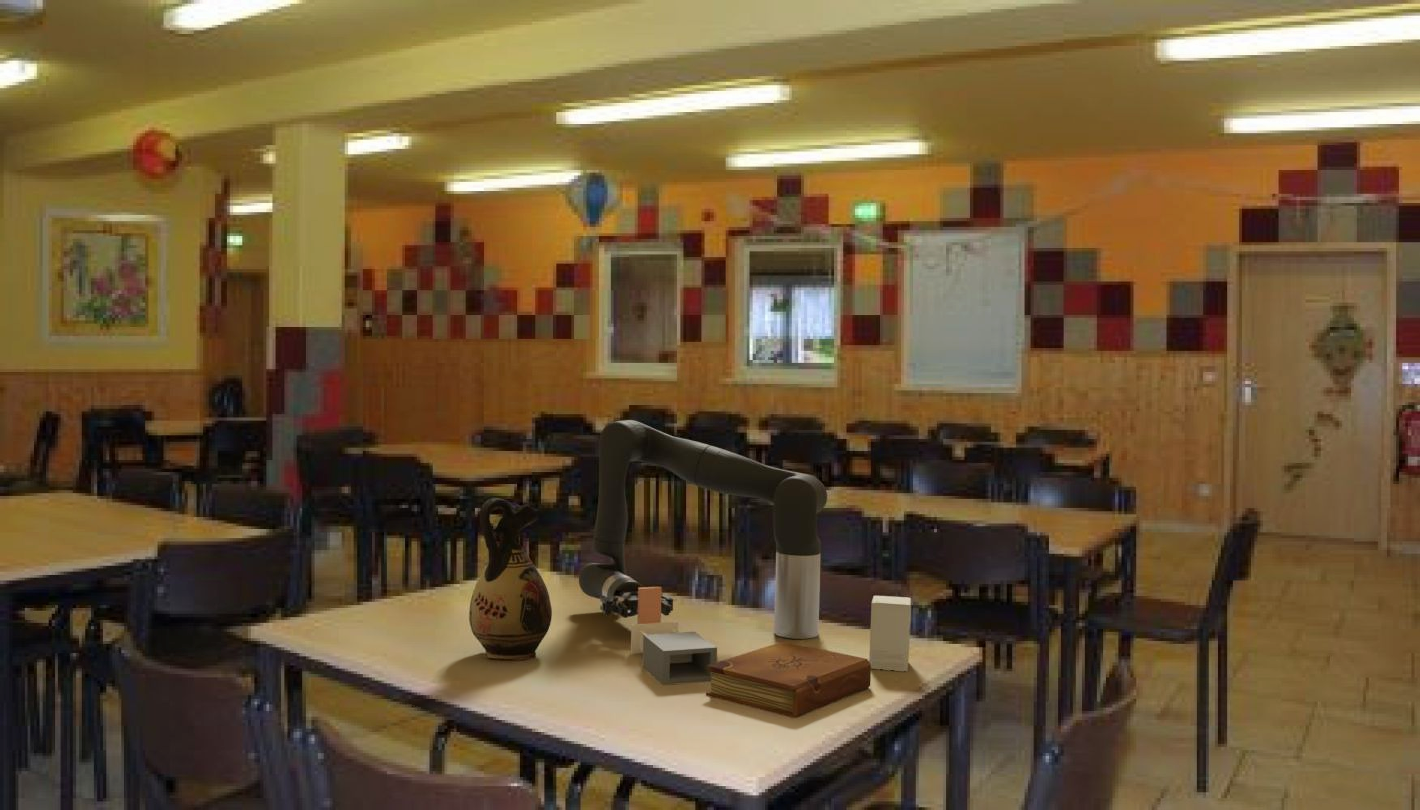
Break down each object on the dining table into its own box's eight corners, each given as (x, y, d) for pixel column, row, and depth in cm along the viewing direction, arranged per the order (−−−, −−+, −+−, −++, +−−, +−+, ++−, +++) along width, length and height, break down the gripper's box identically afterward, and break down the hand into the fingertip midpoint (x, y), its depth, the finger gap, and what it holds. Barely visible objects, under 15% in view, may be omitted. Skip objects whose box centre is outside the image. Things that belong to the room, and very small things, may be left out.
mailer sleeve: (693, 663, 218) (694, 631, 218) (716, 680, 207) (717, 647, 206) (642, 667, 215) (643, 634, 214) (662, 685, 203) (663, 651, 203)
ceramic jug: (519, 640, 232) (522, 490, 230) (567, 656, 221) (570, 499, 219) (445, 654, 220) (447, 496, 218) (491, 672, 209) (494, 505, 208)
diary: (796, 722, 187) (797, 687, 186) (705, 699, 198) (706, 665, 198) (870, 690, 205) (871, 658, 204) (782, 670, 216) (783, 640, 216)
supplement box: (908, 672, 216) (910, 605, 215) (868, 669, 217) (870, 602, 217) (909, 662, 223) (911, 596, 222) (870, 659, 224) (872, 594, 224)
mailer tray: (669, 644, 230) (671, 586, 230) (698, 666, 214) (699, 604, 214) (625, 647, 227) (626, 588, 226) (650, 669, 211) (652, 606, 211)
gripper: (591, 578, 241) (612, 594, 226) (656, 575, 246) (681, 591, 231) (590, 614, 242) (611, 632, 227) (655, 610, 247) (680, 628, 232)
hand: (647, 611), depth 229 cm, fingers open, 8 cm apart
